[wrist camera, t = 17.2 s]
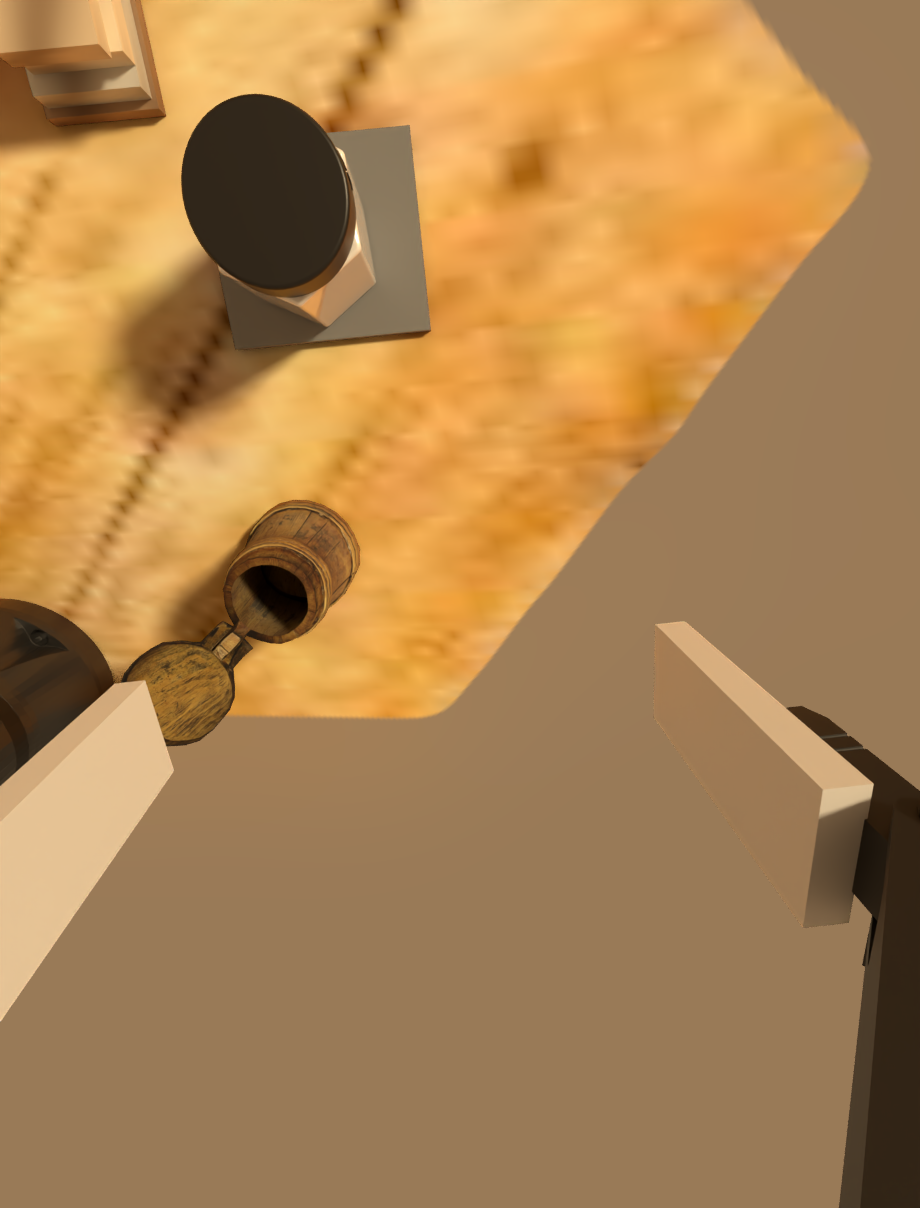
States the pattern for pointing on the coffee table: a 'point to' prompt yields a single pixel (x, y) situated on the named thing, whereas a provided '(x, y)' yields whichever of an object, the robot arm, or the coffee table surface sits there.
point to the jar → (277, 207)
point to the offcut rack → (83, 58)
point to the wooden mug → (252, 614)
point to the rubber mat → (395, 253)
